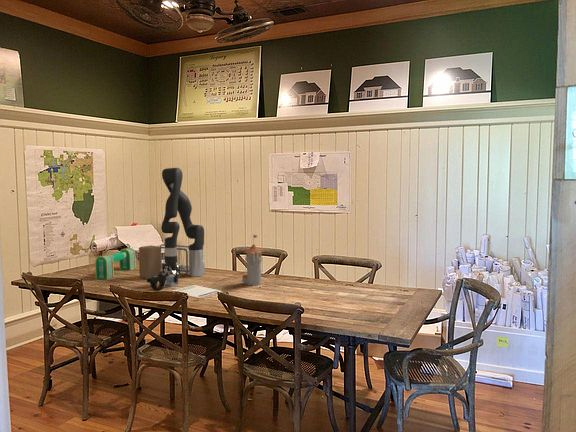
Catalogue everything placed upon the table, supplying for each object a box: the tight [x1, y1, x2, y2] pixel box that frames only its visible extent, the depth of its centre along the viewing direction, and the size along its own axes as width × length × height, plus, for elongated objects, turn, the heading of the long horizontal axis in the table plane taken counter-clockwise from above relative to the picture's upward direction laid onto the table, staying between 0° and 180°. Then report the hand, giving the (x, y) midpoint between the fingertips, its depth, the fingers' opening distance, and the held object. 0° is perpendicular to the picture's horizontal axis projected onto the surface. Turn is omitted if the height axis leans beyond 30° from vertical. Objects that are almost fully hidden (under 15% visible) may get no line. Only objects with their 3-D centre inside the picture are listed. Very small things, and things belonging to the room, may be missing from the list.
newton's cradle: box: [158, 243, 189, 276], centre depth 319 cm, size 30×10×18 cm, turn 66°
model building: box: [242, 234, 263, 286], centre depth 284 cm, size 14×12×30 cm
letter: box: [171, 284, 223, 299], centre depth 267 cm, size 18×24×1 cm
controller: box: [146, 272, 166, 291], centre depth 270 cm, size 4×12×10 cm, turn 148°
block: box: [138, 245, 162, 280], centre depth 303 cm, size 10×10×20 cm
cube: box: [165, 274, 179, 287], centre depth 284 cm, size 5×5×5 cm
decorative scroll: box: [94, 246, 137, 280], centre depth 316 cm, size 36×8×15 cm, turn 170°
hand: (171, 281), depth 283 cm, fingers open, 8 cm apart
